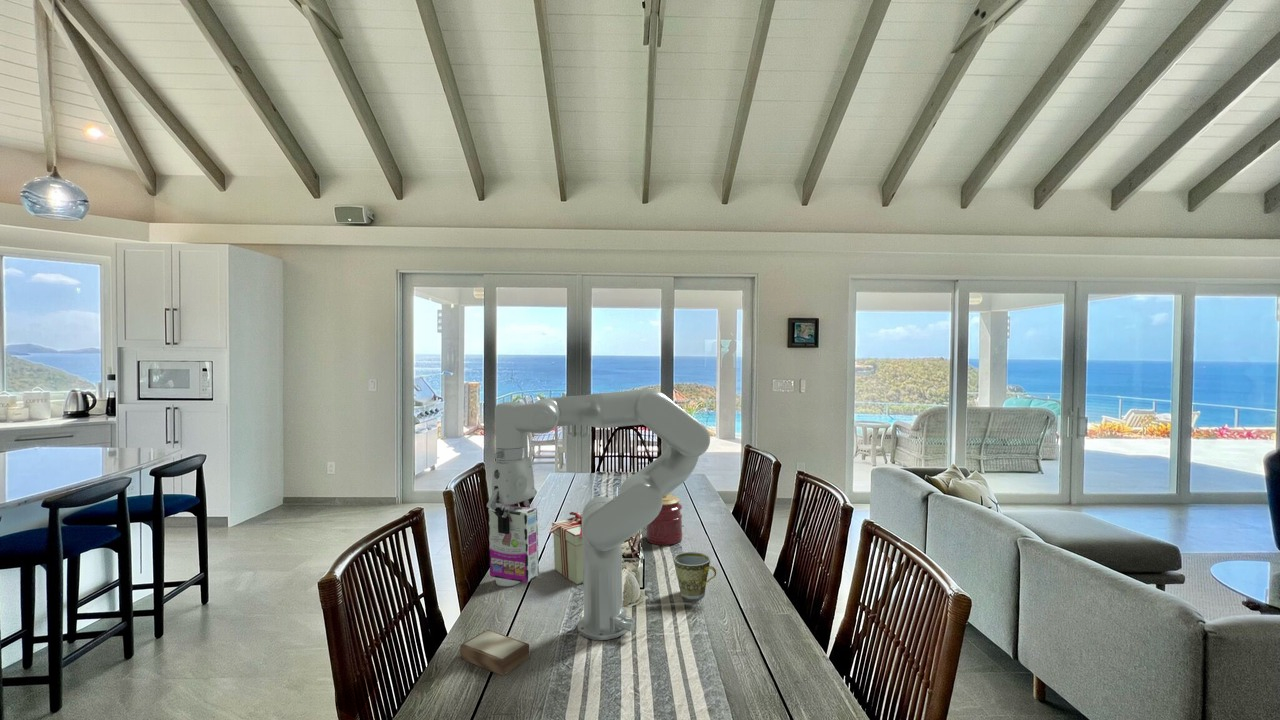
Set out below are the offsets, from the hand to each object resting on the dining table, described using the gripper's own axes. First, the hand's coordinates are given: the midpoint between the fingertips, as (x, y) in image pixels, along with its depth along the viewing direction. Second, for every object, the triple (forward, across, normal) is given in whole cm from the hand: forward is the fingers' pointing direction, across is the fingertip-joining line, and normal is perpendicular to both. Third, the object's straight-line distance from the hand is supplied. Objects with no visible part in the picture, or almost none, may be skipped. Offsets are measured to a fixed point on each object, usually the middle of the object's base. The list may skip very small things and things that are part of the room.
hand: (513, 528), depth 132 cm
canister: (+26, +75, +3) cm, 79 cm away
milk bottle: (+26, +20, +24) cm, 40 cm away
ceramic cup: (+26, +41, -28) cm, 55 cm away
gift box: (+26, +37, +9) cm, 46 cm away
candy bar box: (+12, 0, 0) cm, 12 cm away
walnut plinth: (+25, -10, -4) cm, 28 cm away
